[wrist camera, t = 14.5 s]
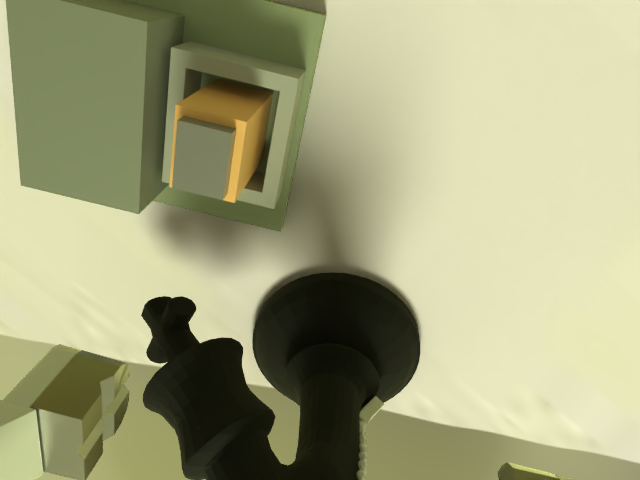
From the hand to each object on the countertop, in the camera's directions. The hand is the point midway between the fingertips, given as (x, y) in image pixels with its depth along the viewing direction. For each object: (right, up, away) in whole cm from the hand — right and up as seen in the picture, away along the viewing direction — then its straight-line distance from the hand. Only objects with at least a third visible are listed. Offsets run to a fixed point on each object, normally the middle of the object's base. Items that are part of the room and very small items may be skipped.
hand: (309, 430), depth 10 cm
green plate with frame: (-10, +14, +26) cm, 31 cm away
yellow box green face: (-6, +13, +25) cm, 28 cm away
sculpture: (-2, -3, +34) cm, 35 cm away
